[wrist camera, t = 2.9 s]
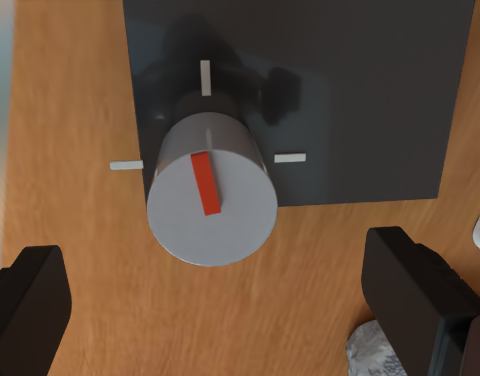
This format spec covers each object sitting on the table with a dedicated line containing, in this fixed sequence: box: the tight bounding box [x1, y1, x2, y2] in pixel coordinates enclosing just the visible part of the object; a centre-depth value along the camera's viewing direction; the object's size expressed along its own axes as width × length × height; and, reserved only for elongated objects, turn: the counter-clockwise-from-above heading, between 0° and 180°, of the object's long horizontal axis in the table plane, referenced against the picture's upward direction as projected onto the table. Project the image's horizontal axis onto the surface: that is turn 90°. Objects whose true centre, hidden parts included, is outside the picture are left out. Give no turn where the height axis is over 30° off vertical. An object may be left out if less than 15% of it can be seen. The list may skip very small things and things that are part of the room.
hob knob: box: [147, 112, 278, 266], centre depth 16 cm, size 4×4×5 cm
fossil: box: [346, 320, 407, 376], centre depth 28 cm, size 11×4×10 cm
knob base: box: [110, 0, 475, 210], centre depth 20 cm, size 15×12×3 cm
